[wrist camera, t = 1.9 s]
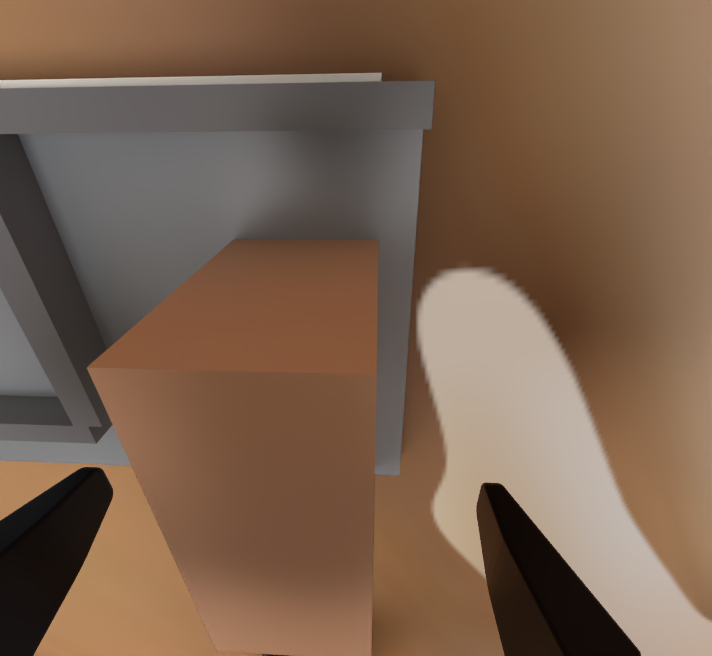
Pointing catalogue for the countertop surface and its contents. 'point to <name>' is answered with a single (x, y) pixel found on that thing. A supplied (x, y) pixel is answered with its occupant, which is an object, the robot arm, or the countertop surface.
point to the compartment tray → (185, 221)
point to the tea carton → (261, 439)
